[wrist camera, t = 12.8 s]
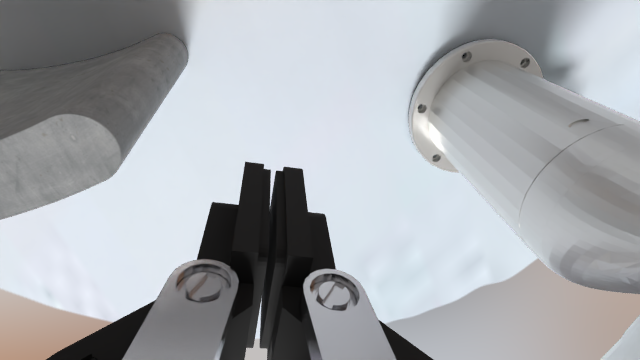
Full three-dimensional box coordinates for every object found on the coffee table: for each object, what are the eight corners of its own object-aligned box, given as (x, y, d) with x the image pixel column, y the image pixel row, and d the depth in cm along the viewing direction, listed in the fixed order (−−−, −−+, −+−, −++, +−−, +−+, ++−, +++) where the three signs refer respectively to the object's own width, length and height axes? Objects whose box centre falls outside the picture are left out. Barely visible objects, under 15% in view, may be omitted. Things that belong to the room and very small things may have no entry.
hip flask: (179, 28, 30) (71, 130, 13) (197, 80, 32) (126, 226, 15) (-26, 75, 30) (-418, 242, 12) (6, 123, 32) (-292, 324, 15)
